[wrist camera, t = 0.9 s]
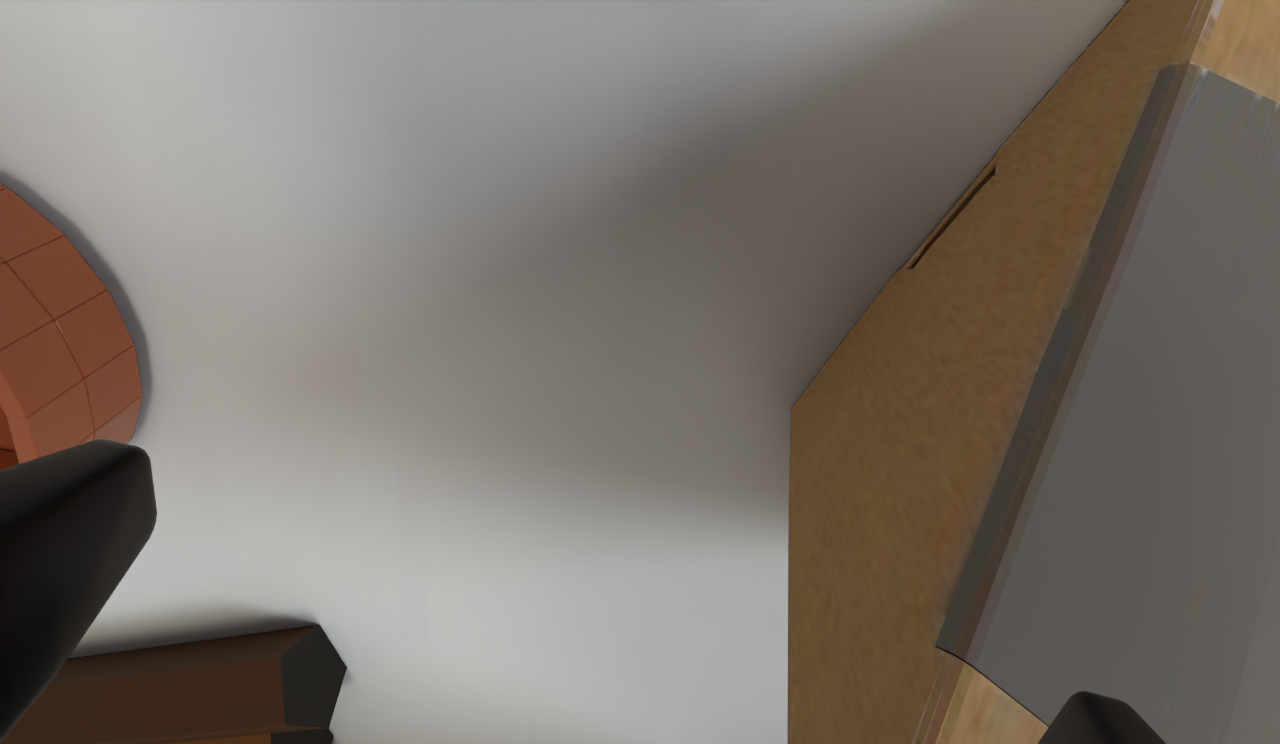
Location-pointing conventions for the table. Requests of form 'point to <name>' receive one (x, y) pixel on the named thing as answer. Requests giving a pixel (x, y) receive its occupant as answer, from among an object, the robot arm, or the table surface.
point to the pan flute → (193, 694)
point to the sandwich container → (1064, 422)
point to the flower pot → (58, 344)
